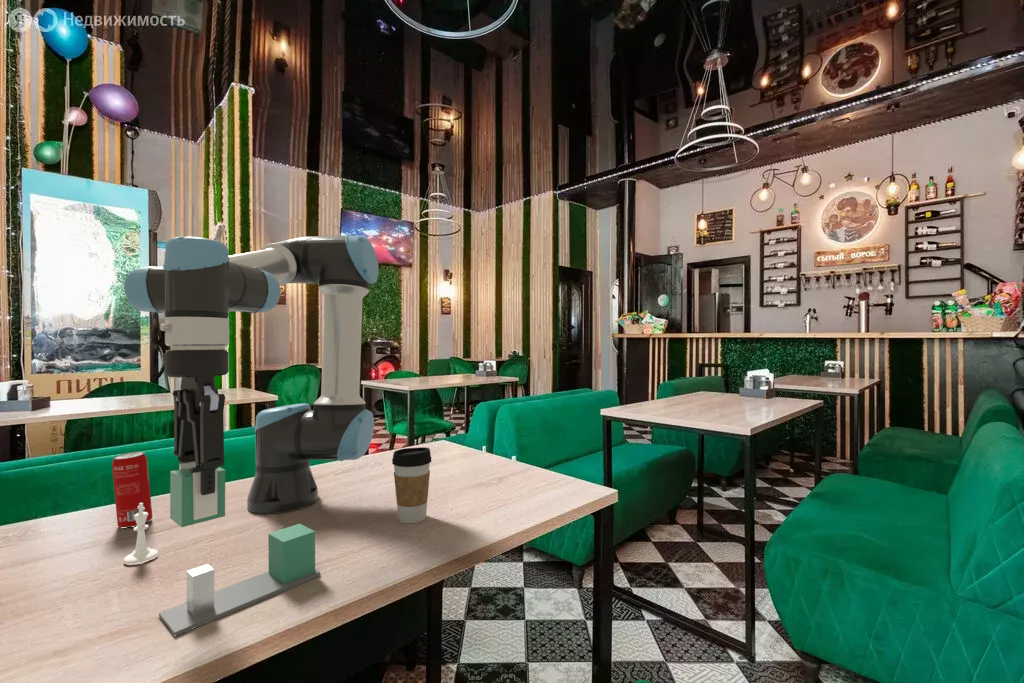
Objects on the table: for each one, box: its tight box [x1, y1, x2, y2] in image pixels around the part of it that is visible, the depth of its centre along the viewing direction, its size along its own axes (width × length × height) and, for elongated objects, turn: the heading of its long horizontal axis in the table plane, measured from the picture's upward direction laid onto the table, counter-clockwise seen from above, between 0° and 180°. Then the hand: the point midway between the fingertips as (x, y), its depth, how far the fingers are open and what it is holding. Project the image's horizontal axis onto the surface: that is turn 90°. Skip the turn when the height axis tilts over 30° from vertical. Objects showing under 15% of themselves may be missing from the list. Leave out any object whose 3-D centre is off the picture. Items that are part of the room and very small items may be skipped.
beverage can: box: [111, 451, 153, 528], centre depth 97 cm, size 6×6×15 cm
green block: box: [169, 466, 226, 528], centre depth 65 cm, size 5×5×7 cm
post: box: [186, 563, 215, 616], centre depth 65 cm, size 3×3×6 cm
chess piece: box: [123, 503, 159, 563], centre depth 81 cm, size 5×5×10 cm
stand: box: [158, 523, 321, 637], centre depth 70 cm, size 7×20×7 cm, turn 141°
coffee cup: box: [391, 446, 432, 525], centre depth 99 cm, size 8×8×15 cm
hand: (198, 511), depth 65 cm, fingers closed on green block, 5 cm apart
